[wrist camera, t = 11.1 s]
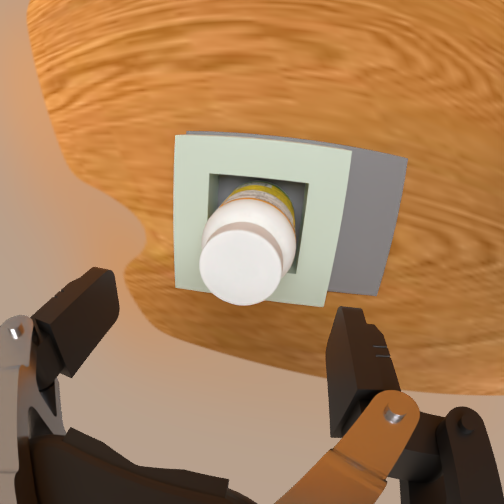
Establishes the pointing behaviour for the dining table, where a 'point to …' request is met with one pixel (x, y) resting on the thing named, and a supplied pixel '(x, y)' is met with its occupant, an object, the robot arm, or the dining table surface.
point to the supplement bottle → (248, 243)
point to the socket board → (304, 203)
